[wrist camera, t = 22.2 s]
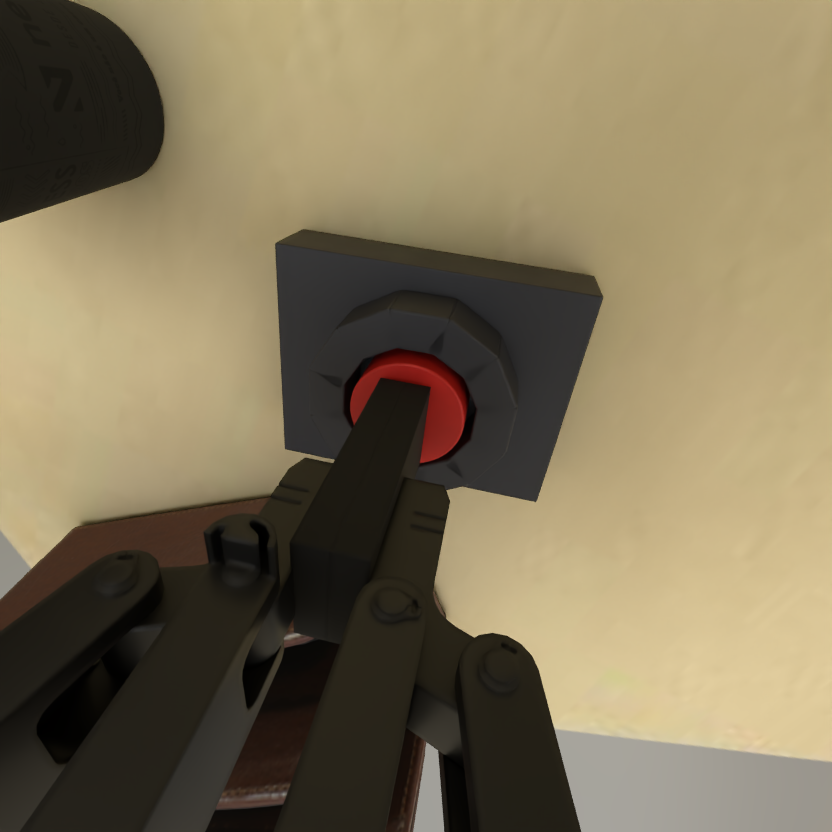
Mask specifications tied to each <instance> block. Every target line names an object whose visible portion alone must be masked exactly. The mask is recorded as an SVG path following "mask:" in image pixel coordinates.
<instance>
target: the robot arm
mask: <svg viewBox="0 0 832 832" xmlns="http://www.w3.org/2000/svg"><path fill="white" fill-rule="evenodd" d="M430 389H431V387H428V386H423V385H417V384H412V383H407V382H401V381H396V380H391V379H386V378H380V380H379V381H378V383H377V385H376V387H375V389H374V390H373V392H372V394H371V396H370V398H369V399H368V401H367V403H366V405H365V407H364V409H363V410H362V412H361V414H360V416H359V418H358V419H357V421H356V423H355V425H354V427H353V428H352V430H351V432H350V434H349V436H348V437H347V439H346V441H345V443H344V445H343V446H342V448H341V450H340V452H339V454H338V455H337V457H336V459H335V461H334V463H328V462H323V461H319V460H314V459H309V458H304V459H303V460H301V461H300V462H298V463H297V464H295V465H294V466H292V467H291V468H289V469H288V471H287V472H286V474H285V475H284V477H283V478H282V480H281V481H280V483H279V486H277V487H276V489H275V490H274V492H273V493H272V495H271V498H269V499H268V501H267V502H266V504H265V505H264V507H263V508H262V510H261V511H260V513H259V514H258V515H257V514H248V513H239V514H234V515H229V516H225V517H223V518H221V519H219V520H217V521H215V522H213V523H212V524H211V525H210V526H209V527H208V528H207V529H206V530H204V531H203V534H204V539H205V545H206V550H207V556H208V561H209V563H206V564H202V565H194V566H179V567H160V568H159V564H158V561H157V559H156V558H155V557H153V556H152V555H151V554H150V553H148V552H145V551H141V550H121V551H118V552H115V553H111V554H108V555H106V556H104V557H102V558H100V559H99V560H97V561H95V562H93V563H92V564H90V565H89V566H88V567H86V568H85V569H83V570H82V571H81V572H79V573H78V574H77V575H75V576H74V577H73V578H71V579H70V580H69V581H67V582H66V583H65V584H63V585H62V586H61V587H59V588H58V589H56V590H55V591H54V592H52V593H51V594H50V595H48V596H47V597H46V598H44V599H43V600H42V601H40V602H39V603H38V604H36V605H35V606H34V607H32V608H31V609H29V610H28V611H27V612H25V613H24V614H23V615H21V616H20V617H19V618H17V619H16V620H15V621H13V622H12V623H11V624H9V625H8V626H7V627H5V628H4V629H2V630H1V631H0V832H205V831H206V829H207V827H208V825H209V822H210V820H211V818H212V816H213V813H214V811H215V809H216V807H217V804H218V802H219V800H220V798H221V795H222V793H223V791H224V789H225V786H226V784H227V782H228V780H229V777H230V775H231V773H232V771H233V768H234V766H235V764H236V762H237V759H238V757H239V755H240V753H241V750H242V748H243V746H244V744H245V741H246V739H247V737H248V735H249V732H250V730H251V728H252V726H253V723H254V721H255V719H256V717H257V714H258V712H259V710H260V708H261V705H262V703H263V701H264V699H265V696H266V694H267V692H268V690H269V687H270V685H271V683H272V681H273V679H274V676H275V674H276V672H277V670H278V667H279V665H280V663H281V661H282V657H283V653H284V637H285V635H286V633H287V631H288V628H289V626H290V624H291V622H292V620H293V627H294V633H296V634H300V635H305V636H309V637H313V638H317V639H321V640H325V641H329V642H333V643H337V644H340V645H339V648H338V651H337V654H336V657H335V660H334V662H333V665H332V668H331V671H330V674H329V676H328V679H327V682H326V685H325V688H324V691H323V693H322V696H321V699H320V702H319V705H318V708H317V710H316V713H315V716H314V719H313V722H312V724H311V727H310V730H309V733H308V736H307V739H306V741H305V744H304V747H303V750H302V753H301V756H300V758H299V761H298V764H297V767H296V770H295V773H294V775H293V778H292V781H291V784H290V787H289V789H288V792H287V795H286V798H285V801H284V804H283V806H282V809H281V812H280V815H279V818H278V821H277V823H276V826H275V829H274V832H385V830H386V825H387V820H388V815H389V810H390V805H391V800H392V794H393V789H394V784H395V779H396V774H397V769H398V764H399V759H400V754H401V749H402V744H403V739H404V734H405V729H406V728H408V729H409V730H410V731H412V732H413V733H415V734H416V735H417V736H419V737H420V738H422V739H423V740H424V741H426V742H427V743H429V744H430V745H432V746H433V747H434V748H436V749H437V750H438V753H439V766H440V779H441V792H442V805H443V818H444V832H581V829H580V825H579V822H578V818H577V814H576V810H575V806H574V803H573V799H572V795H571V791H570V787H569V784H568V780H567V776H566V772H565V769H564V765H563V761H562V757H561V753H560V749H559V746H558V742H557V738H556V734H555V730H554V727H553V723H552V719H551V715H550V711H549V707H548V704H547V700H546V696H545V692H544V688H543V685H542V681H541V677H540V673H539V670H538V668H537V666H536V664H535V661H534V659H533V657H532V655H531V654H530V653H529V652H528V651H527V650H526V649H525V648H524V647H523V646H522V645H521V644H520V643H518V642H517V641H515V640H513V639H511V638H510V637H508V636H505V635H500V634H495V633H490V634H484V635H478V636H477V637H475V638H474V637H472V636H470V635H469V634H467V633H465V632H464V631H462V630H460V629H458V628H457V627H455V626H454V625H453V624H451V623H450V622H449V621H447V619H446V618H445V617H444V616H443V615H442V614H441V613H440V611H439V609H438V607H437V605H436V603H435V599H434V595H433V589H434V581H435V576H436V570H437V565H438V560H439V555H440V550H441V545H442V540H443V534H444V529H445V524H446V519H447V514H448V509H449V504H450V500H449V497H448V495H447V492H446V489H445V486H444V485H440V484H435V483H430V482H425V481H420V480H416V479H415V477H416V473H417V470H418V467H419V464H420V459H421V452H422V445H423V438H424V431H425V424H426V417H427V410H428V403H429V396H430Z"/></svg>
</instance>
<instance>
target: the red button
mask: <svg viewBox="0 0 832 832" xmlns="http://www.w3.org/2000/svg"><path fill="white" fill-rule="evenodd" d="M380 378H386V379H391V380H396V381H401V382H407V383H412V384H417V385H423V386H428V387H431V389H430V396H429V403H428V410H427V417H426V424H425V431H424V438H423V445H422V452H421V459H420V463H423V462H429V461H432V460H435V459H437V458H439V457H441V456H443V455H445V454H446V453H448V452H449V451H450V450H451V449H452V448H453V447H454V446H455V445H456V444H457V442H458V441H459V439H460V437H461V435H462V432H463V429H464V425H465V420H466V415H467V410H468V405H469V399H470V393H469V390H468V388H467V385H466V383H465V381H464V378H463V377H461V376H460V375H459V374H458V373H456V372H455V371H454V370H452V369H451V368H450V367H448V366H447V365H446V364H445V363H443V362H442V361H441V360H439V359H438V358H437V357H436V356H434V355H432V354H427V353H421V352H416V351H410V350H405V349H400V348H396V349H393V350H390V351H387V352H384V353H381V354H378V355H376V356H375V357H374V358H373V359H372V361H371V362H370V364H369V365H368V367H367V368H366V370H365V372H364V373H363V375H362V376H361V378H360V379H359V381H358V383H357V384H356V386H355V388H354V390H353V392H352V396H351V402H350V411H351V417H352V421H353V424H354V425H355V423H356V421H357V419H358V418H359V416H360V414H361V412H362V410H363V409H364V407H365V405H366V403H367V401H368V399H369V398H370V396H371V394H372V392H373V390H374V389H375V387H376V385H377V383H378V381H379V380H380Z"/></svg>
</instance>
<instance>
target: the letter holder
mask: <svg viewBox="0 0 832 832" xmlns="http://www.w3.org/2000/svg"><path fill="white" fill-rule="evenodd" d="M269 498H271V497H267V498H261V499H253V500H248V501H238V502H234V503H225V504H218V505H213V506H207V507H200V508H193V509H185V510H181V511H175V512H167V513H161V514H153V515H148V516H143V517H135V518H128V519H122V520H116V521H110V522H104V523H98V524H91V525H85V526H78V527H75V528H74V529H72V530H71V531H70V532H69V533H68V534H67V535H66V536H65V537H64V538H63V540H62V541H60V542H59V543H58V544H57V545H56V546H55V547H54V548H53V549H52V550H51V551H50V552H49V553H48V554H47V555H46V556H45V557H44V558H43V559H41V560H40V561H39V562H38V563H37V564H36V565H35V566H34V567H33V568H32V569H31V570H30V571H29V572H28V573H27V574H26V575H25V576H24V577H23V578H22V579H21V580H20V581H19V582H18V583H17V584H16V585H15V586H14V587H13V588H12V589H11V590H10V591H9V592H8V593H7V594H6V595H5V596H4V597H3V598H1V599H0V631H1V630H2V629H4V628H5V627H7V626H8V625H9V624H11V623H12V622H13V621H15V620H16V619H17V618H19V617H20V616H21V615H23V614H24V613H25V612H27V611H28V610H29V609H31V608H32V607H34V606H35V605H36V604H38V603H39V602H40V601H42V600H43V599H44V598H46V597H47V596H48V595H50V594H51V593H52V592H54V591H55V590H56V589H58V588H59V587H61V586H62V585H63V584H65V583H66V582H67V581H69V580H70V579H71V578H73V577H74V576H75V575H77V574H78V573H79V572H81V571H82V570H83V569H85V568H86V567H88V566H89V565H90V564H92V563H93V562H95V561H97V560H99V559H100V558H102V557H104V556H106V555H108V554H111V553H115V552H118V551H121V550H141V551H145V552H148V553H150V554H151V555H152V556H153V557H155V558H156V559H157V561H158V564H159V568H160V567H179V566H194V565H202V564H206V563H209V561H208V556H207V550H206V545H205V539H204V534H203V531H204V530H206V529H207V528H208V527H209V526H210V525H211V524H212V523H213V522H215V521H217V520H219V519H221V518H223V517H225V516H229V515H234V514H239V513H248V514H257V515H258V514H259V513H260V511H261V510H262V508H263V507H264V505H265V504H266V502H267V501H268V499H269ZM433 595H434V599H435V603H436V605H437V607H438V609H439V611H440V613H441V614H442V615H443V616H444V617H445V618H446V615H445V613H444V612H443V610H442V608H441V606H440V604H439V601H438V599H437V597H436V594H435V593H434V590H433ZM339 645H340V644H337V643H333V642H329V641H325V640H321V639H317V638H313V637H309V636H305V635H300V634H296V633H294V627H293V620H292V622H291V624H290V626H289V628H288V631H287V633H286V635H285V637H284V653H283V657H282V661H281V663H280V665H279V667H278V670H277V672H276V674H275V676H274V679H273V681H272V683H271V685H270V687H269V690H268V692H267V694H266V696H265V699H264V701H263V703H262V705H261V708H260V710H259V712H258V714H257V717H256V719H255V721H254V723H253V726H252V728H251V730H250V732H249V735H248V737H247V739H246V741H245V744H244V746H243V748H242V750H241V753H240V755H239V757H238V759H237V762H236V764H235V766H234V768H233V771H232V773H231V775H230V777H229V780H228V782H227V784H226V786H225V789H224V791H223V793H222V795H221V798H220V800H219V802H218V804H217V807H216V809H215V811H214V813H213V816H212V818H211V820H210V822H209V825H208V827H207V829H206V831H205V832H274V829H275V826H276V823H277V821H278V818H279V815H280V812H281V809H282V806H283V804H284V801H285V798H286V795H287V792H288V789H289V787H290V784H291V781H292V778H293V775H294V773H295V770H296V767H297V764H298V761H299V758H300V756H301V753H302V750H303V747H304V744H305V741H306V739H307V736H308V733H309V730H310V727H311V724H312V722H313V719H314V716H315V713H316V710H317V708H318V705H319V702H320V699H321V696H322V693H323V691H324V688H325V685H326V682H327V679H328V676H329V674H330V671H331V668H332V665H333V662H334V660H335V657H336V654H337V651H338V648H339ZM425 747H426V741H424V740H423V739H422V738H420V737H419V736H417V735H416V734H415V733H413V732H412V731H410V730H409V729H408V728H406V729H405V734H404V739H403V744H402V749H401V754H400V759H399V764H398V769H397V774H396V779H395V784H394V789H393V794H392V800H391V805H390V810H389V815H388V820H387V825H386V830H385V832H413V828H414V822H415V814H416V809H417V802H418V796H419V789H420V781H421V776H422V769H423V762H424V757H425Z"/></svg>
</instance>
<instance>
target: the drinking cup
mask: <svg viewBox="0 0 832 832" xmlns="http://www.w3.org/2000/svg"><path fill="white" fill-rule="evenodd" d="M163 128H164V121H163V110H162V104H161V99H160V95H159V92H158V89H157V86H156V83H155V80H154V78H153V75H152V73H151V71H150V69H149V67H148V65H147V63H146V62H145V60H144V58H143V56H142V55H141V53H140V52H139V50H138V49H137V48H136V46H135V45H134V44H133V42H132V41H131V40H130V39H129V38H128V36H127V35H126V34H125V33H124V32H123V31H122V30H121V29H120V28H119V27H118V26H116V25H115V24H114V23H113V22H112V21H110V20H109V19H108V18H106V17H105V16H103V15H101V14H100V13H98V12H96V11H94V10H92V9H89V8H87V7H84V6H82V5H79V4H77V3H74V2H71V1H69V0H0V223H1V222H4V221H7V220H10V219H13V218H16V217H19V216H22V215H25V214H28V213H31V212H34V211H37V210H40V209H43V208H47V207H50V206H53V205H56V204H59V203H62V202H65V201H68V200H71V199H74V198H77V197H80V196H83V195H86V194H89V193H92V192H95V191H98V190H102V189H105V188H108V187H111V186H114V185H117V184H120V183H123V182H126V181H129V180H132V179H134V178H137V177H139V176H141V175H142V174H143V173H145V172H146V171H147V170H148V169H149V168H150V167H151V166H152V164H153V163H154V161H155V159H156V158H157V155H158V153H159V151H160V147H161V144H162V139H163Z"/></svg>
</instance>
